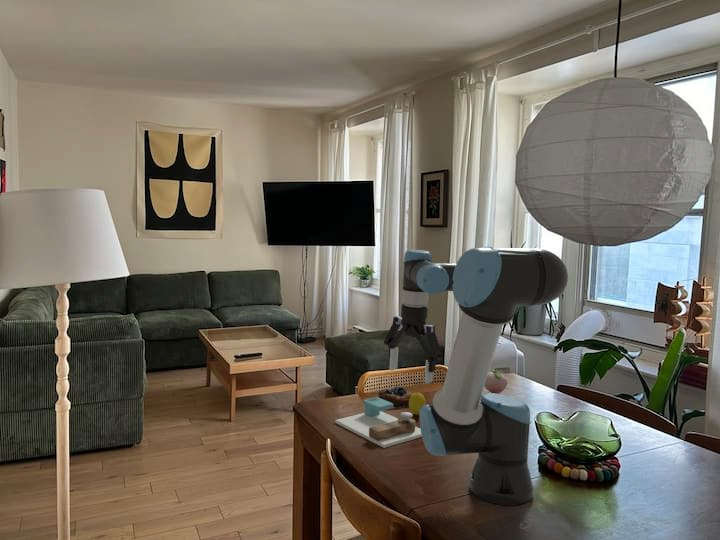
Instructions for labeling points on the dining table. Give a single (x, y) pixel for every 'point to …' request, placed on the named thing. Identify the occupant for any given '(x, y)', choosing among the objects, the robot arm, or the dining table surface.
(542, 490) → the dining table surface
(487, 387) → the decorative fruit
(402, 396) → the pastry
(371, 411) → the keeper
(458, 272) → the robot arm
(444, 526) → the dining table surface
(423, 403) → the lemon
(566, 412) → the dining table surface
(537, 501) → the dining table surface
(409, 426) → the walnut link
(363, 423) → the plate
